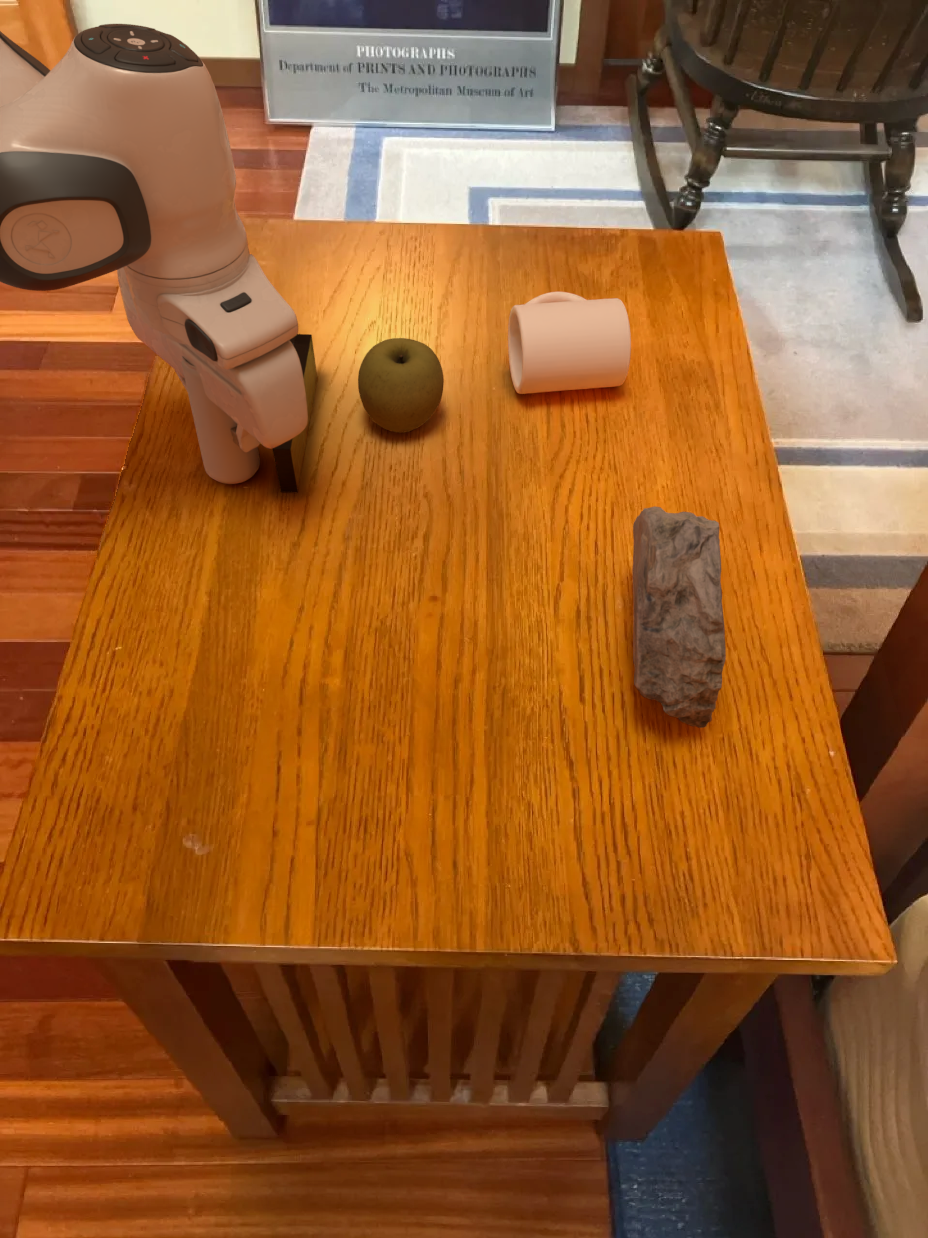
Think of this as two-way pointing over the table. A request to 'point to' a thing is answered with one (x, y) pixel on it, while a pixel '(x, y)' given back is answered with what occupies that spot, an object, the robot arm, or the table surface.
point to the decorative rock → (678, 613)
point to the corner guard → (294, 449)
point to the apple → (400, 384)
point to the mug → (568, 343)
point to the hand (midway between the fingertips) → (227, 426)
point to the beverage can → (217, 435)
